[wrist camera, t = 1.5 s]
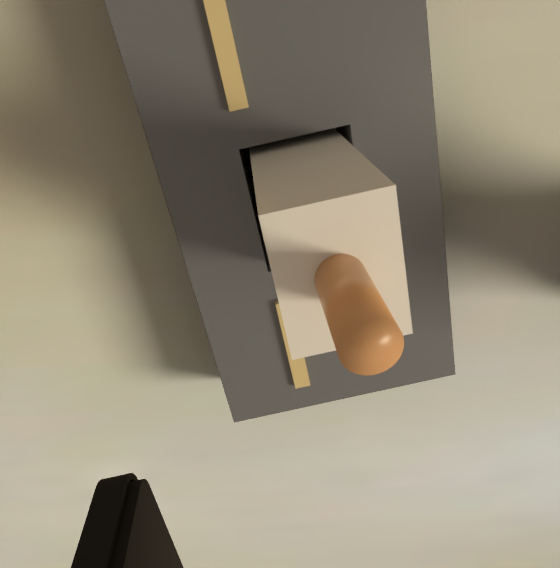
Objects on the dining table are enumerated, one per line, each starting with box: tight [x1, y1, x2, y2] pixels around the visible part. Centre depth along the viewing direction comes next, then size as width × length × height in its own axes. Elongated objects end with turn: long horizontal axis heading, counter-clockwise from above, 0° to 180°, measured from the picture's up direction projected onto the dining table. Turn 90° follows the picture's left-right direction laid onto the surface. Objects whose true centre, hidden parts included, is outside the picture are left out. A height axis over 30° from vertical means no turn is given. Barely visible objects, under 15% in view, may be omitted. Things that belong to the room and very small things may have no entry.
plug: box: [249, 128, 413, 376], centre depth 20 cm, size 5×4×16 cm
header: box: [104, 0, 455, 422], centre depth 26 cm, size 22×12×4 cm, turn 12°
